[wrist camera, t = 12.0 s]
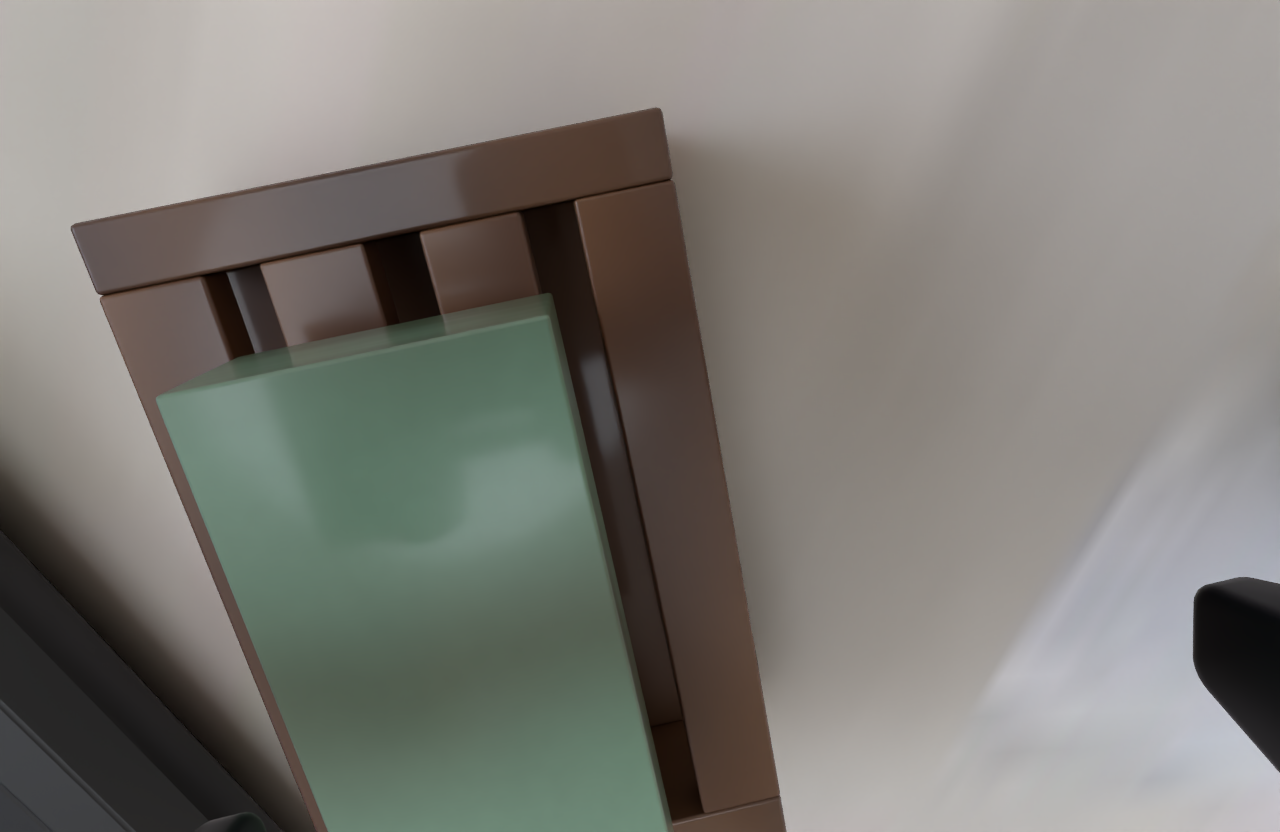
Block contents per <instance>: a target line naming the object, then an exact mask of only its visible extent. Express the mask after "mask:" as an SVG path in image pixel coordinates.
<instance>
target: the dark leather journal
mask: <svg viewBox="0 0 1280 832" xmlns="http://www.w3.org/2000/svg"><path fill="white" fill-rule="evenodd" d="M244 812H250V813H254V814H256V815H257V816H258V817H259V818H260V819H261V821H262V822H263V824H264V826H265V829H266V831H267V832H283V831H282V830H281V829H280V828H279V826H278V825H277V824H276V823H275V822H274V821H273V820H272V819H271V818H270V817H269V816H268V815H267V814H266V813H265V812H264V810H263V809H262V808H261V807H260V806H259V805H258V804H257V803H256V802H255V801H254V800H253V799H252V798H251V797H250V796H249V794H248V793H247V792H246V791H245V790H244V789H243V788H242V787H241V786H240V785H239V784H238V783H237V782H236V781H235V780H234V778H233V777H232V776H231V775H230V774H229V773H228V772H227V771H226V770H225V769H224V768H223V767H222V766H221V765H220V764H219V762H218V761H217V760H216V759H215V758H214V757H213V756H212V755H211V754H210V753H209V752H208V751H207V750H206V749H205V748H204V746H203V745H202V744H201V743H200V742H199V741H198V740H197V739H196V738H195V737H194V736H193V735H192V734H191V733H190V732H189V730H188V729H187V728H186V727H185V726H184V725H183V724H182V723H181V722H180V721H179V720H178V719H177V718H176V717H175V716H174V714H173V713H172V712H171V711H170V710H169V709H168V708H167V707H166V706H165V705H164V704H163V703H162V702H161V701H160V699H159V698H158V697H157V696H156V695H155V694H154V693H153V692H152V691H151V690H150V689H149V688H148V687H147V686H146V685H145V683H144V682H143V681H142V680H141V679H140V678H139V677H138V676H137V675H136V674H135V673H134V672H133V671H132V670H131V669H130V667H129V666H128V665H127V664H126V663H125V662H124V661H123V660H122V659H121V658H120V657H119V656H118V655H117V654H116V653H115V651H114V650H113V649H112V648H111V647H110V646H109V645H108V644H107V643H106V642H105V641H104V640H103V639H102V638H101V637H100V635H99V634H98V633H97V632H96V631H95V630H94V629H93V628H92V627H91V626H90V625H89V624H88V623H87V622H86V621H85V619H84V618H83V617H82V616H81V615H80V614H79V613H78V612H77V611H76V610H75V609H74V608H73V607H72V606H71V604H70V603H69V602H68V601H67V600H66V599H65V598H64V597H63V596H62V595H61V594H60V593H59V592H58V591H57V590H56V588H55V587H54V586H53V585H52V584H51V583H50V582H49V581H48V580H47V579H46V578H45V577H44V576H43V575H42V574H41V572H40V571H39V570H38V569H37V568H36V567H35V566H34V565H33V564H32V563H31V562H30V561H29V560H28V559H27V558H26V556H25V555H24V554H23V553H22V552H21V551H20V550H19V549H18V548H17V547H16V546H15V545H14V544H13V543H12V542H11V540H10V539H9V538H8V537H7V536H6V535H5V534H4V533H3V532H2V531H1V530H0V832H194V831H195V830H196V829H198V828H199V827H200V826H201V825H203V824H204V823H206V822H208V821H211V820H214V819H218V818H222V817H227V816H231V815H235V814H239V813H244Z"/></svg>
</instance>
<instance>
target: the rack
mask: <svg viewBox="0 0 1280 832" xmlns="http://www.w3.org/2000/svg"><path fill="white" fill-rule="evenodd" d="M672 176H673V172H672V166H671V160H670V154H669V148H668V143H667V137H666V131H665V125H664V120H663V114H662V111H661V109H660V108H652V109H647V110H642V111H637V112H632V113H627V114H622V115H617V116H612V117H607V118H602V119H597V120H592V121H587V122H582V123H576V124H571V125H566V126H561V127H556V128H551V129H546V130H541V131H536V132H531V133H526V134H521V135H516V136H511V137H506V138H501V139H496V140H491V141H486V142H481V143H476V144H471V145H466V146H461V147H456V148H451V149H446V150H441V151H436V152H431V153H426V154H421V155H416V156H411V157H406V158H401V159H396V160H391V161H386V162H381V163H376V164H371V165H366V166H361V167H356V168H351V169H346V170H341V171H336V172H331V173H326V174H321V175H316V176H311V177H306V178H301V179H296V180H291V181H286V182H281V183H276V184H271V185H266V186H261V187H256V188H251V189H246V190H241V191H236V192H231V193H226V194H221V195H216V196H211V197H206V198H201V199H196V200H191V201H186V202H181V203H176V204H171V205H166V206H161V207H156V208H151V209H146V210H141V211H136V212H131V213H126V214H120V215H115V216H110V217H105V218H100V219H95V220H90V221H85V222H80V223H75V224H74V225H72V226H71V231H72V234H73V236H74V239H75V241H76V243H77V246H78V248H79V251H80V253H81V256H82V258H83V261H84V263H85V266H86V268H87V270H88V273H89V275H90V278H91V280H92V283H93V285H94V288H95V290H96V292H97V293H98V294H100V295H103V296H102V297H101V298H100V302H101V305H102V307H103V310H104V312H105V315H106V317H107V320H108V322H109V325H110V327H111V329H112V332H113V334H114V337H115V339H116V342H117V344H118V347H119V349H120V351H121V354H122V356H123V359H124V361H125V364H126V366H127V369H128V371H129V374H130V376H131V378H132V381H133V383H134V386H135V388H136V391H137V393H138V396H139V398H140V401H141V403H142V405H143V408H144V410H145V413H146V415H147V418H148V420H149V423H150V425H151V428H152V430H153V432H154V435H155V437H156V440H157V442H158V445H159V447H160V450H161V452H162V454H163V457H164V459H165V462H166V464H167V467H168V469H169V472H170V474H171V477H172V479H173V481H174V484H175V486H176V489H177V491H178V494H179V496H180V499H181V501H182V504H183V506H184V508H185V511H186V513H187V516H188V518H189V521H190V523H191V526H192V528H193V531H194V533H195V535H196V538H197V540H198V543H199V545H200V548H201V550H202V553H203V555H204V557H205V560H206V562H207V565H208V567H209V570H210V572H211V575H212V577H213V580H214V582H215V584H216V587H217V589H218V592H219V594H220V597H221V599H222V602H223V604H224V607H225V609H226V611H227V614H228V616H229V619H230V621H231V624H232V626H233V629H234V631H235V633H236V636H237V638H238V641H239V643H240V646H241V648H242V651H243V653H244V656H245V658H246V660H247V663H248V665H249V668H250V670H251V673H252V675H253V678H254V680H255V683H256V685H257V687H258V690H259V692H260V695H261V697H262V700H263V702H264V705H265V707H266V710H267V712H268V714H269V717H270V719H271V722H272V724H273V727H274V729H275V732H276V734H277V736H278V739H279V741H280V744H281V746H282V749H283V751H284V754H285V756H286V759H287V761H288V763H289V766H290V768H291V771H292V773H293V776H294V778H295V781H296V783H297V786H298V788H299V790H300V793H301V795H302V798H303V800H304V803H305V805H306V808H307V810H308V813H309V815H310V817H311V820H312V822H313V825H314V827H315V830H316V832H328V830H327V828H326V825H325V823H324V820H323V818H322V815H321V813H320V810H319V808H318V805H317V803H316V800H315V798H314V795H313V793H312V790H311V788H310V785H309V783H308V780H307V778H306V775H305V773H304V770H303V768H302V765H301V763H300V760H299V758H298V755H297V753H296V750H295V748H294V745H293V743H292V740H291V738H290V735H289V733H288V730H287V728H286V725H285V723H284V720H283V718H282V715H281V713H280V710H279V708H278V705H277V703H276V700H275V698H274V695H273V693H272V690H271V688H270V685H269V683H268V680H267V678H266V675H265V673H264V670H263V668H262V665H261V663H260V660H259V658H258V655H257V653H256V650H255V648H254V645H253V643H252V640H251V638H250V635H249V633H248V630H247V628H246V625H245V623H244V620H243V618H242V615H241V613H240V610H239V608H238V605H237V603H236V600H235V598H234V595H233V593H232V590H231V588H230V585H229V583H228V580H227V578H226V575H225V573H224V570H223V568H222V565H221V563H220V560H219V558H218V555H217V553H216V550H215V548H214V545H213V543H212V540H211V538H210V535H209V533H208V530H207V528H206V525H205V523H204V520H203V518H202V515H201V513H200V510H199V508H198V505H197V503H196V500H195V498H194V495H193V493H192V490H191V488H190V485H189V483H188V480H187V478H186V475H185V473H184V470H183V468H182V465H181V463H180V460H179V458H178V455H177V453H176V450H175V448H174V445H173V443H172V440H171V438H170V435H169V433H168V430H167V428H166V425H165V423H164V420H163V418H162V415H161V413H160V410H159V408H158V405H157V403H156V397H157V396H159V395H161V394H163V393H165V392H167V391H169V390H171V389H173V388H175V387H177V386H179V385H181V384H183V383H185V382H187V381H190V380H192V379H194V378H196V377H198V376H200V375H202V374H204V373H206V372H208V371H210V370H212V369H214V368H216V367H219V366H221V365H223V364H225V363H227V362H229V361H231V360H233V359H235V358H237V357H240V356H245V355H250V354H255V353H260V352H265V351H269V350H274V349H279V348H284V347H289V346H294V345H298V344H303V343H308V342H313V341H318V340H322V339H327V338H332V337H337V336H342V335H347V334H351V333H356V332H361V331H366V330H371V329H376V328H380V327H385V326H390V325H395V324H400V323H405V322H409V321H414V320H419V319H424V318H429V317H434V316H438V315H443V314H448V313H453V312H458V311H463V310H467V309H472V308H477V307H482V306H487V305H491V304H496V303H501V302H506V301H511V300H516V299H520V298H525V297H530V296H535V295H540V294H545V293H551V294H552V296H553V300H554V305H555V309H556V313H557V318H558V322H559V327H560V331H561V335H562V340H563V344H564V349H565V353H566V357H567V362H568V366H569V371H570V375H571V379H572V384H573V388H574V393H575V397H576V402H577V406H578V410H579V415H580V419H581V424H582V428H583V432H584V437H585V441H586V446H587V450H588V454H589V459H590V463H591V468H592V472H593V476H594V481H595V485H596V490H597V494H598V498H599V503H600V507H601V512H602V516H603V521H604V525H605V529H606V534H607V538H608V543H609V547H610V551H611V556H612V560H613V565H614V569H615V573H616V578H617V582H618V587H619V591H620V595H621V600H622V604H623V609H624V613H625V617H626V622H627V626H628V631H629V635H630V639H631V644H632V648H633V653H634V657H635V662H636V666H637V670H638V675H639V679H640V684H641V688H642V692H643V697H644V701H645V706H646V710H647V714H648V719H649V723H650V728H651V732H652V736H653V741H654V745H655V750H656V754H657V758H658V763H659V767H660V772H661V776H662V781H663V785H664V789H665V794H666V798H667V803H668V807H669V811H670V816H671V820H672V825H673V829H674V832H786V826H785V820H784V814H783V808H782V803H781V797H780V790H779V784H778V779H777V773H776V767H775V761H774V755H773V750H772V744H771V738H770V732H769V726H768V721H767V715H766V709H765V703H764V698H763V692H762V686H761V680H760V674H759V669H758V663H757V657H756V651H755V645H754V640H753V634H752V628H751V622H750V617H749V611H748V605H747V599H746V593H745V588H744V582H743V576H742V570H741V564H740V559H739V553H738V547H737V541H736V536H735V530H734V524H733V518H732V512H731V507H730V501H729V495H728V489H727V483H726V478H725V472H724V466H723V460H722V454H721V449H720V443H719V437H718V431H717V426H716V420H715V414H714V408H713V402H712V397H711V391H710V385H709V379H708V373H707V368H706V362H705V356H704V350H703V345H702V339H701V333H700V327H699V321H698V316H697V310H696V304H695V298H694V292H693V287H692V281H691V275H690V269H689V264H688V258H687V252H686V246H685V240H684V235H683V229H682V223H681V217H680V211H679V206H678V200H677V194H676V188H675V183H674V182H673V181H672V180H670V179H671V178H672Z"/></svg>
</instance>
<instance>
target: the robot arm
mask: <svg viewBox="0 0 1280 832" xmlns="http://www.w3.org/2000/svg"><path fill="white" fill-rule="evenodd" d="M1193 661H1194V665H1195V669H1196V671H1197V674H1198V676H1199V678H1200V680H1201V681H1202V683H1203V684H1204V686H1205V687H1206V688H1207V690H1208V691H1209V692H1210V693H1211V694H1212V695H1213V697H1214V698H1215V699H1216V700H1217V701H1218V702H1219V704H1220V705H1221V706H1222V707H1223V708H1224V709H1225V710H1226V712H1227V713H1228V714H1229V715H1230V716H1231V717H1232V718H1233V720H1234V721H1235V722H1236V723H1237V724H1238V725H1239V726H1240V728H1241V729H1242V730H1243V731H1244V732H1245V733H1246V734H1247V736H1248V737H1249V738H1250V739H1251V740H1252V741H1253V742H1254V744H1255V745H1256V746H1257V747H1258V748H1259V749H1260V750H1261V752H1262V753H1263V754H1264V755H1265V756H1266V757H1267V758H1268V760H1269V761H1270V762H1271V763H1272V764H1273V765H1274V766H1275V768H1276V769H1277V770H1278V771H1279V772H1280V584H1278V583H1273V582H1268V581H1264V580H1259V579H1255V578H1249V577H1238V578H1233V579H1229V580H1225V581H1220V582H1216V583H1212V584H1208V585H1205V586H1203V587H1202V588H1200V589H1199V590H1198V591H1197V593H1196V595H1195V597H1194V612H1193ZM194 832H267V831H266V829H265V826H264V824H263V822H262V821H261V819H260V818H259V817H258V816H257V815H256V814H254V813H250V812H244V813H239V814H235V815H231V816H227V817H222V818H218V819H214V820H211V821H208V822H206V823H204V824H203V825H201V826H200V827H199V828H198V829H196V830H195V831H194Z"/></svg>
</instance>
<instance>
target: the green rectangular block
mask: <svg viewBox="0 0 1280 832" xmlns="http://www.w3.org/2000/svg"><path fill="white" fill-rule="evenodd" d="M156 403H157V405H158V408H159V410H160V413H161V415H162V418H163V420H164V423H165V425H166V428H167V430H168V433H169V435H170V438H171V440H172V443H173V445H174V448H175V450H176V453H177V455H178V458H179V460H180V463H181V465H182V468H183V470H184V473H185V475H186V478H187V480H188V483H189V485H190V488H191V490H192V493H193V495H194V498H195V500H196V503H197V505H198V508H199V510H200V513H201V515H202V518H203V520H204V523H205V525H206V528H207V530H208V533H209V535H210V538H211V540H212V543H213V545H214V548H215V550H216V553H217V555H218V558H219V560H220V563H221V565H222V568H223V570H224V573H225V575H226V578H227V580H228V583H229V585H230V588H231V590H232V593H233V595H234V598H235V600H236V603H237V605H238V608H239V610H240V613H241V615H242V618H243V620H244V623H245V625H246V628H247V630H248V633H249V635H250V638H251V640H252V643H253V645H254V648H255V650H256V653H257V655H258V658H259V660H260V663H261V665H262V668H263V670H264V673H265V675H266V678H267V680H268V683H269V685H270V688H271V690H272V693H273V695H274V698H275V700H276V703H277V705H278V708H279V710H280V713H281V715H282V718H283V720H284V723H285V725H286V728H287V730H288V733H289V735H290V738H291V740H292V743H293V745H294V748H295V750H296V753H297V755H298V758H299V760H300V763H301V765H302V768H303V770H304V773H305V775H306V778H307V780H308V783H309V785H310V788H311V790H312V793H313V795H314V798H315V800H316V803H317V805H318V808H319V810H320V813H321V815H322V818H323V820H324V823H325V825H326V828H327V830H328V832H674V829H673V825H672V820H671V816H670V811H669V807H668V803H667V798H666V794H665V789H664V785H663V781H662V776H661V772H660V767H659V763H658V758H657V754H656V750H655V745H654V741H653V736H652V732H651V728H650V723H649V719H648V714H647V710H646V706H645V701H644V697H643V692H642V688H641V684H640V679H639V675H638V670H637V666H636V662H635V657H634V653H633V648H632V644H631V639H630V635H629V631H628V626H627V622H626V617H625V613H624V609H623V604H622V600H621V595H620V591H619V587H618V582H617V578H616V573H615V569H614V565H613V560H612V556H611V551H610V547H609V543H608V538H607V534H606V529H605V525H604V521H603V516H602V512H601V507H600V503H599V498H598V494H597V490H596V485H595V481H594V476H593V472H592V468H591V463H590V459H589V454H588V450H587V446H586V441H585V437H584V432H583V428H582V424H581V419H580V415H579V410H578V406H577V402H576V397H575V393H574V388H573V384H572V379H571V375H570V371H569V366H568V362H567V357H566V353H565V349H564V344H563V340H562V335H561V331H560V327H559V322H558V318H557V313H556V309H555V305H554V300H553V296H552V294H551V293H545V294H540V295H535V296H530V297H525V298H520V299H516V300H511V301H506V302H501V303H496V304H491V305H487V306H482V307H477V308H472V309H467V310H463V311H458V312H453V313H448V314H443V315H438V316H434V317H429V318H424V319H419V320H414V321H409V322H405V323H400V324H395V325H390V326H385V327H380V328H376V329H371V330H366V331H361V332H356V333H351V334H347V335H342V336H337V337H332V338H327V339H322V340H318V341H313V342H308V343H303V344H298V345H294V346H289V347H284V348H279V349H274V350H269V351H265V352H260V353H255V354H250V355H245V356H240V357H237V358H235V359H233V360H231V361H229V362H227V363H225V364H223V365H221V366H219V367H216V368H214V369H212V370H210V371H208V372H206V373H204V374H202V375H200V376H198V377H196V378H194V379H192V380H190V381H187V382H185V383H183V384H181V385H179V386H177V387H175V388H173V389H171V390H169V391H167V392H165V393H163V394H161V395H159V396H157V397H156Z"/></svg>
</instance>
